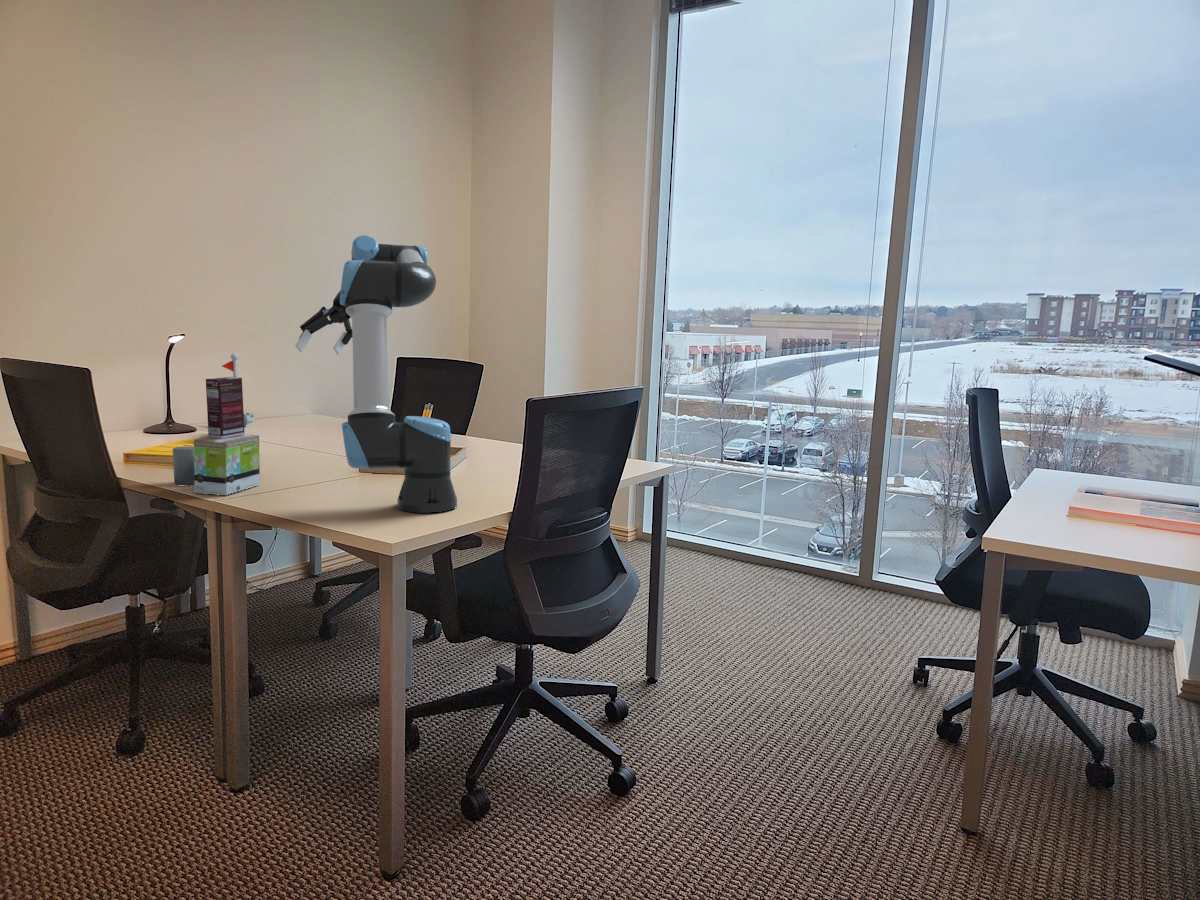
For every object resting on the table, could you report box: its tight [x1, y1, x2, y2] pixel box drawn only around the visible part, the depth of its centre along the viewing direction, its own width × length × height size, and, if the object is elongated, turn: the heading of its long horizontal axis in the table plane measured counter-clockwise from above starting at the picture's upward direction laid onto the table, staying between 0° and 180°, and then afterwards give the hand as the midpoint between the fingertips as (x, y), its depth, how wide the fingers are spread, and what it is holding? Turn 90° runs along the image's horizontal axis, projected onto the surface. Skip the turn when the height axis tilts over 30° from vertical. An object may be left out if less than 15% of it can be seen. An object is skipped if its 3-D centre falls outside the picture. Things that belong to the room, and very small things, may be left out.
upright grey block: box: [172, 445, 195, 487], centre depth 232 cm, size 7×7×10 cm
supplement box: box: [205, 376, 246, 439], centre depth 224 cm, size 9×5×16 cm, turn 160°
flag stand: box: [221, 352, 255, 429], centre depth 336 cm, size 13×13×30 cm
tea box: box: [193, 433, 261, 496], centre depth 227 cm, size 15×10×15 cm, turn 168°
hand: (317, 350), depth 242 cm, fingers open, 13 cm apart
